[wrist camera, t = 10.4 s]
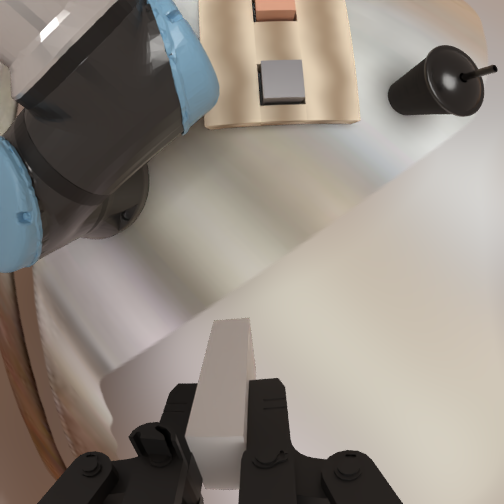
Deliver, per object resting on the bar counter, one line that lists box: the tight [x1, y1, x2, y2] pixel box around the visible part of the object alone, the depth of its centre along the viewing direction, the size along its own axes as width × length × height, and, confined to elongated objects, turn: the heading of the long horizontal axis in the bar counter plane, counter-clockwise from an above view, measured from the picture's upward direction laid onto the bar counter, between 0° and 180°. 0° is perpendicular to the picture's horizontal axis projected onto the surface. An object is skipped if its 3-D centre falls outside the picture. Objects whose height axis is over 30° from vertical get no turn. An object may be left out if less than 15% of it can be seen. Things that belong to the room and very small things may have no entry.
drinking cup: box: [388, 45, 497, 117], centre depth 27 cm, size 8×8×20 cm
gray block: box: [260, 60, 305, 106], centre depth 33 cm, size 4×4×5 cm
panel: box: [199, 0, 360, 130], centre depth 34 cm, size 18×20×4 cm
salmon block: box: [254, 0, 296, 22], centre depth 30 cm, size 4×4×5 cm
